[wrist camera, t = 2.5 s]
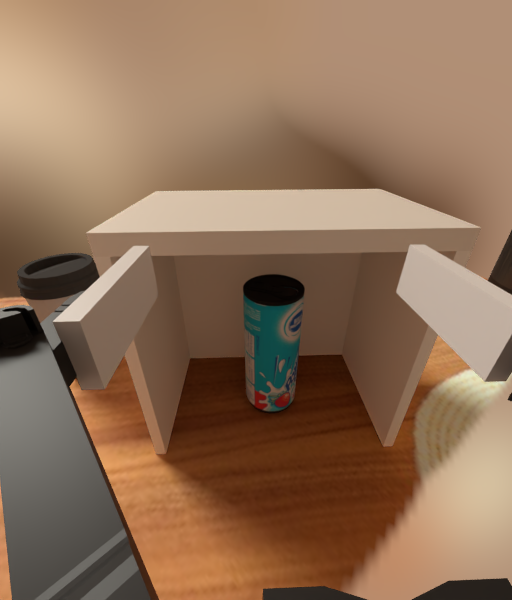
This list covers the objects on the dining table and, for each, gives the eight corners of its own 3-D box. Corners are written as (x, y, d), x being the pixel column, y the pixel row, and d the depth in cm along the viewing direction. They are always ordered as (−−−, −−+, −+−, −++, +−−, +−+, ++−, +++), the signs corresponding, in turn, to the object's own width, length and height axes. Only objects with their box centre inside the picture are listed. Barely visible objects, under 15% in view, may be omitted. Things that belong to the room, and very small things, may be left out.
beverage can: (276, 425, 31) (283, 310, 23) (236, 398, 34) (229, 289, 26) (303, 391, 35) (316, 284, 27) (264, 370, 38) (266, 269, 30)
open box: (346, 349, 41) (379, 189, 30) (392, 446, 28) (481, 227, 17) (184, 353, 41) (156, 191, 29) (156, 454, 28) (85, 232, 16)
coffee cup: (47, 372, 38) (-6, 271, 30) (102, 338, 44) (70, 247, 36) (86, 395, 34) (38, 287, 27) (140, 354, 41) (113, 258, 33)
